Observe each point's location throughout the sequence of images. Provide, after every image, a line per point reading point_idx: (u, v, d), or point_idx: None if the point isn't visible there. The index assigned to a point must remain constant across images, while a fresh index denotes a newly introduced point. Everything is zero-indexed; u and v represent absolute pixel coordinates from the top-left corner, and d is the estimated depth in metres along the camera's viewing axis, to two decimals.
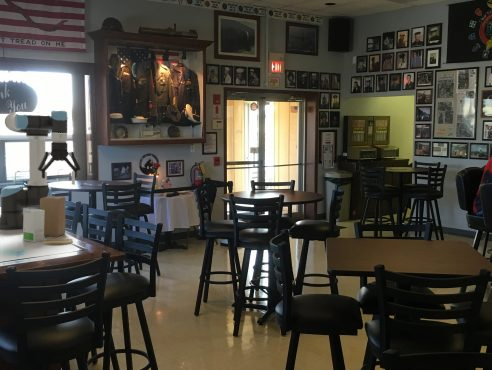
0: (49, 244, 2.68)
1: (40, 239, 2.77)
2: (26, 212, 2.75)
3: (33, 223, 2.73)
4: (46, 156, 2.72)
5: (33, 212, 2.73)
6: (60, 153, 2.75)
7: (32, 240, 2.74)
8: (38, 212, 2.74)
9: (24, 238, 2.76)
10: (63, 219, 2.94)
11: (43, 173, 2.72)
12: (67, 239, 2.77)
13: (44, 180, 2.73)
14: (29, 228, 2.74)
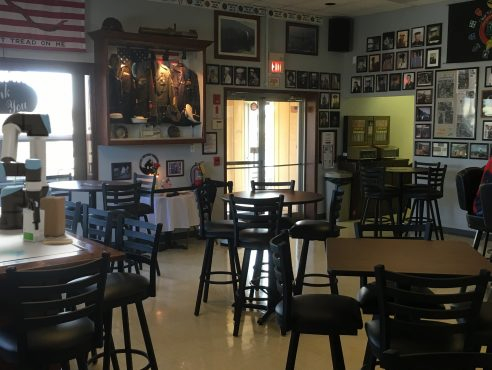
0: (49, 244, 2.68)
1: (40, 239, 2.77)
2: (26, 212, 2.75)
3: None
4: (28, 204, 2.81)
5: None
6: (31, 200, 2.75)
7: (32, 240, 2.74)
8: None
9: (24, 238, 2.76)
10: (63, 219, 2.94)
11: None
12: (67, 239, 2.77)
13: None
14: (29, 228, 2.74)
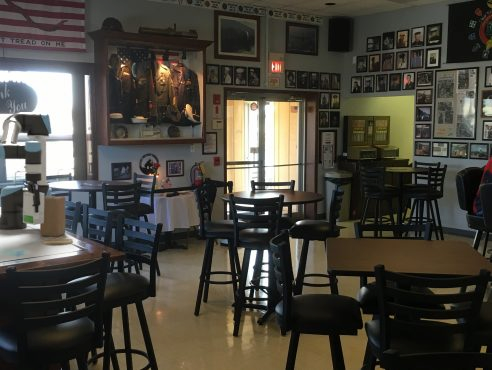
0: (49, 244, 2.68)
1: (40, 221, 2.77)
2: (26, 195, 2.74)
3: None
4: (28, 187, 2.80)
5: None
6: (31, 183, 2.75)
7: (32, 223, 2.74)
8: None
9: (24, 221, 2.76)
10: (63, 219, 2.94)
11: None
12: (67, 239, 2.77)
13: None
14: (29, 210, 2.74)
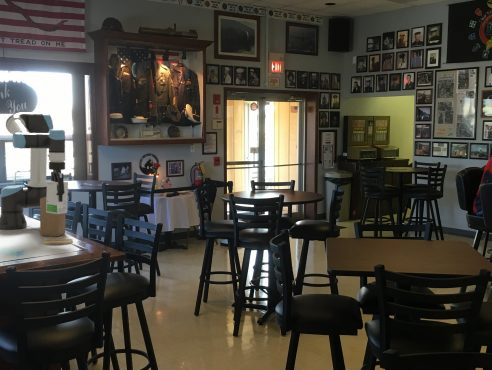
0: (49, 244, 2.68)
1: (64, 211, 2.72)
2: (50, 184, 2.70)
3: None
4: (51, 176, 2.76)
5: (57, 183, 2.68)
6: (54, 172, 2.71)
7: (56, 212, 2.69)
8: None
9: (47, 210, 2.72)
10: (63, 219, 2.94)
11: None
12: (67, 239, 2.77)
13: None
14: (53, 199, 2.69)
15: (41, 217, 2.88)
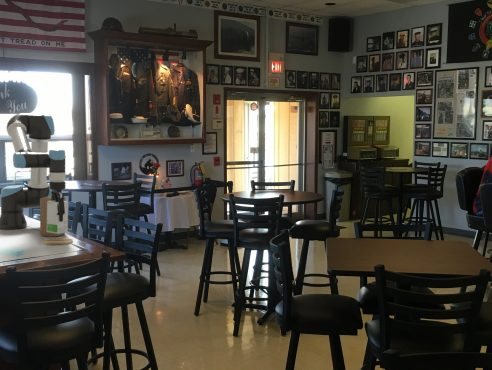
0: (49, 244, 2.68)
1: (64, 230, 2.73)
2: (50, 203, 2.71)
3: None
4: (51, 196, 2.77)
5: (57, 203, 2.69)
6: (55, 191, 2.72)
7: (56, 232, 2.70)
8: None
9: (48, 230, 2.72)
10: None
11: None
12: (67, 239, 2.77)
13: None
14: (53, 219, 2.70)
15: (41, 217, 2.88)
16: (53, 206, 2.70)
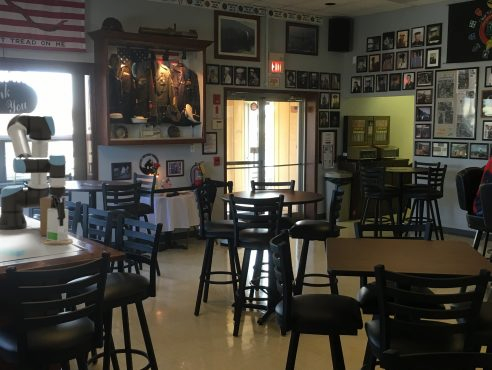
0: (49, 244, 2.68)
1: (64, 238, 2.73)
2: (50, 211, 2.71)
3: (57, 222, 2.69)
4: (51, 200, 2.77)
5: None
6: (55, 197, 2.72)
7: (56, 240, 2.70)
8: None
9: (48, 238, 2.73)
10: None
11: None
12: None
13: None
14: (53, 227, 2.71)
15: (41, 217, 2.88)
16: (53, 214, 2.70)
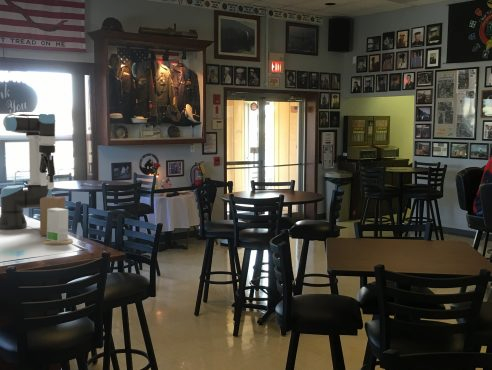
0: (49, 244, 2.68)
1: (64, 238, 2.73)
2: (50, 211, 2.71)
3: (57, 222, 2.69)
4: (41, 158, 2.81)
5: (57, 211, 2.69)
6: (44, 156, 2.76)
7: (56, 240, 2.70)
8: (62, 211, 2.70)
9: (48, 238, 2.73)
10: None
11: None
12: None
13: None
14: (53, 227, 2.71)
15: (41, 217, 2.88)
16: (53, 214, 2.70)
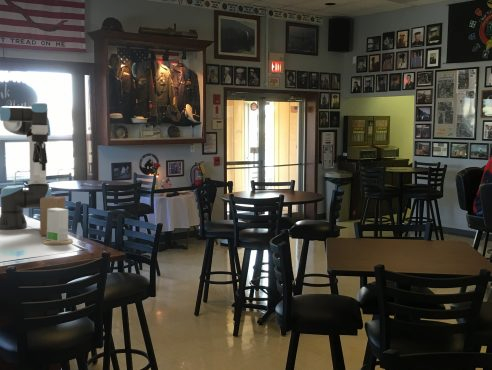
0: (49, 244, 2.68)
1: (64, 238, 2.73)
2: (50, 211, 2.71)
3: (57, 222, 2.69)
4: (34, 148, 2.84)
5: (57, 211, 2.69)
6: (37, 145, 2.79)
7: (56, 240, 2.70)
8: (62, 211, 2.70)
9: (48, 238, 2.73)
10: None
11: None
12: None
13: None
14: (53, 227, 2.71)
15: (41, 217, 2.88)
16: (53, 214, 2.70)
